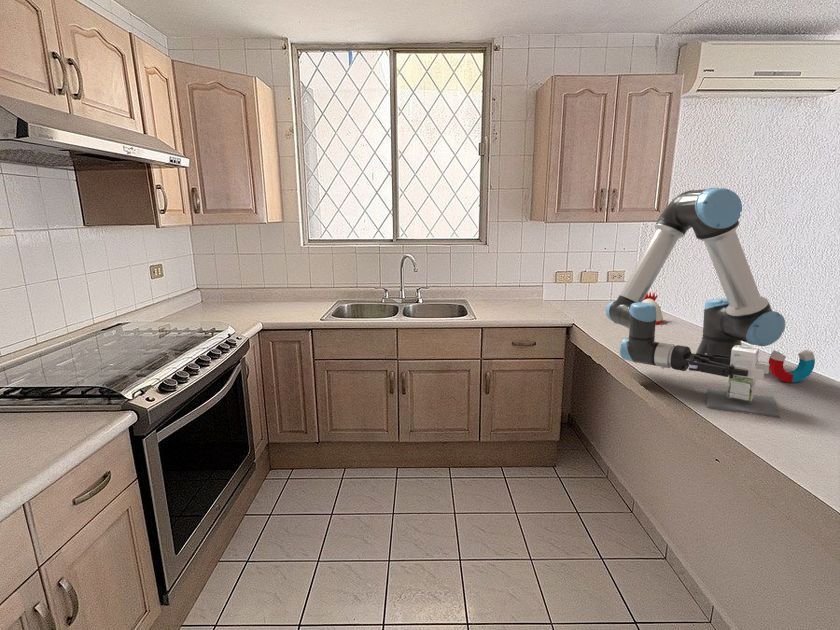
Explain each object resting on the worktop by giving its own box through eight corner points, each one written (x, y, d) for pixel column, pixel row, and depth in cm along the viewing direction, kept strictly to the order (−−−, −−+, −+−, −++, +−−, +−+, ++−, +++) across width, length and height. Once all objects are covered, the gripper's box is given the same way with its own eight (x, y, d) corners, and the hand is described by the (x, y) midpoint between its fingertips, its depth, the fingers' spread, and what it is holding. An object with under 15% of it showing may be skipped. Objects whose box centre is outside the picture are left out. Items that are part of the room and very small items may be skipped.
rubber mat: (707, 390, 140) (707, 388, 139) (772, 398, 131) (772, 396, 131) (707, 407, 128) (707, 405, 128) (779, 417, 120) (779, 415, 119)
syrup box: (754, 396, 129) (759, 346, 126) (751, 402, 125) (756, 352, 122) (730, 391, 133) (735, 343, 130) (726, 398, 129) (731, 348, 126)
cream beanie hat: (666, 324, 220) (668, 294, 217) (636, 325, 223) (637, 294, 220) (657, 318, 234) (658, 289, 230) (628, 318, 236) (629, 290, 233)
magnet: (806, 379, 144) (810, 349, 142) (812, 382, 141) (816, 351, 139) (766, 380, 145) (769, 350, 143) (772, 383, 142) (775, 352, 140)
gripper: (682, 361, 147) (771, 376, 131) (661, 376, 135) (756, 395, 118) (684, 338, 146) (774, 350, 129) (663, 352, 133) (759, 367, 117)
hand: (765, 372), depth 124 cm, fingers closed on syrup box, 6 cm apart
